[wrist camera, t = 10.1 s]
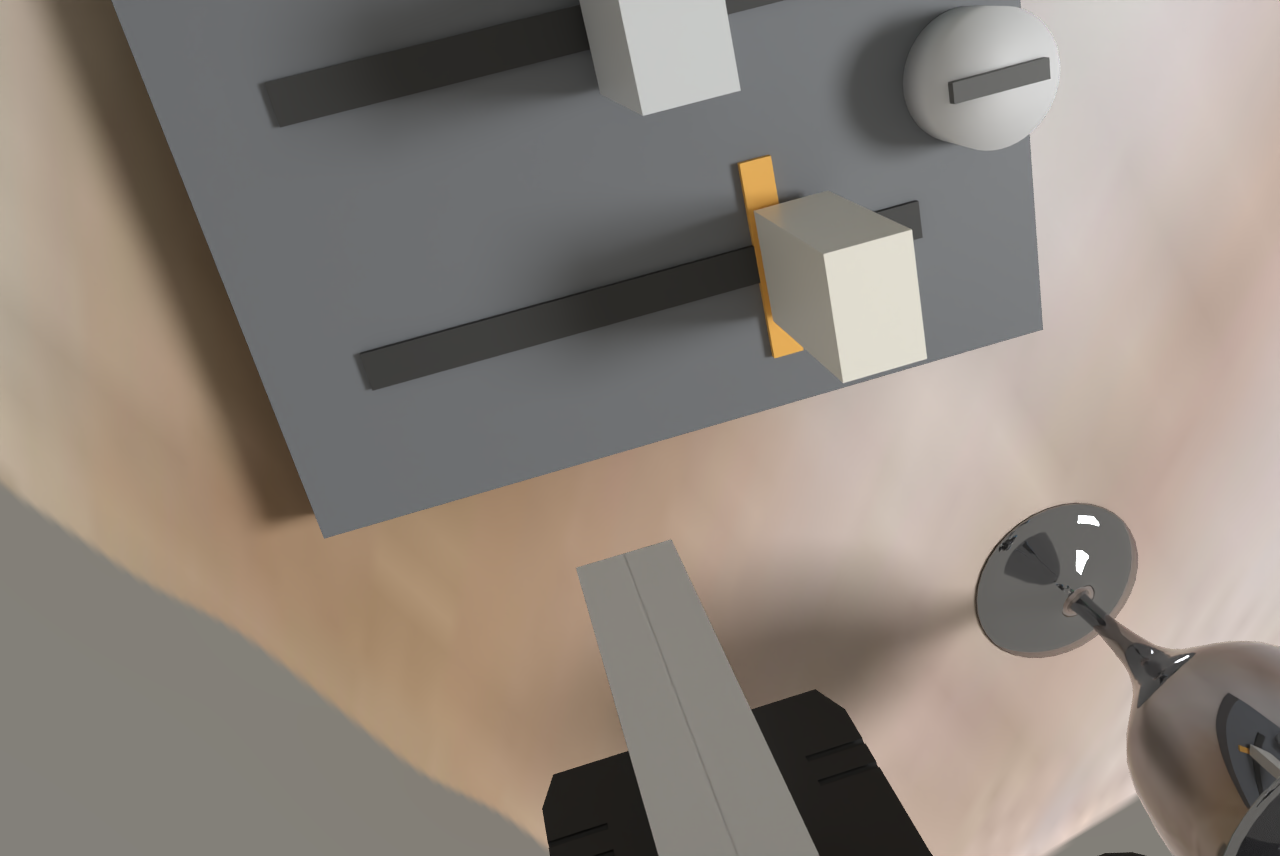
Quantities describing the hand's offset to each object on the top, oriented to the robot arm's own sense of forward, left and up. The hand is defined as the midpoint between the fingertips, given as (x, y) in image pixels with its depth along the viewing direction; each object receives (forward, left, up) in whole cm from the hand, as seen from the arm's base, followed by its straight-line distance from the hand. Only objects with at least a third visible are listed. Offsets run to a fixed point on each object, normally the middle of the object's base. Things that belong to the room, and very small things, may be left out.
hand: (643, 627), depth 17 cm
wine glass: (+17, +18, -20) cm, 32 cm away
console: (-4, +4, -20) cm, 21 cm away
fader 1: (-8, +5, -17) cm, 20 cm away
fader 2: (0, +9, -17) cm, 19 cm away
